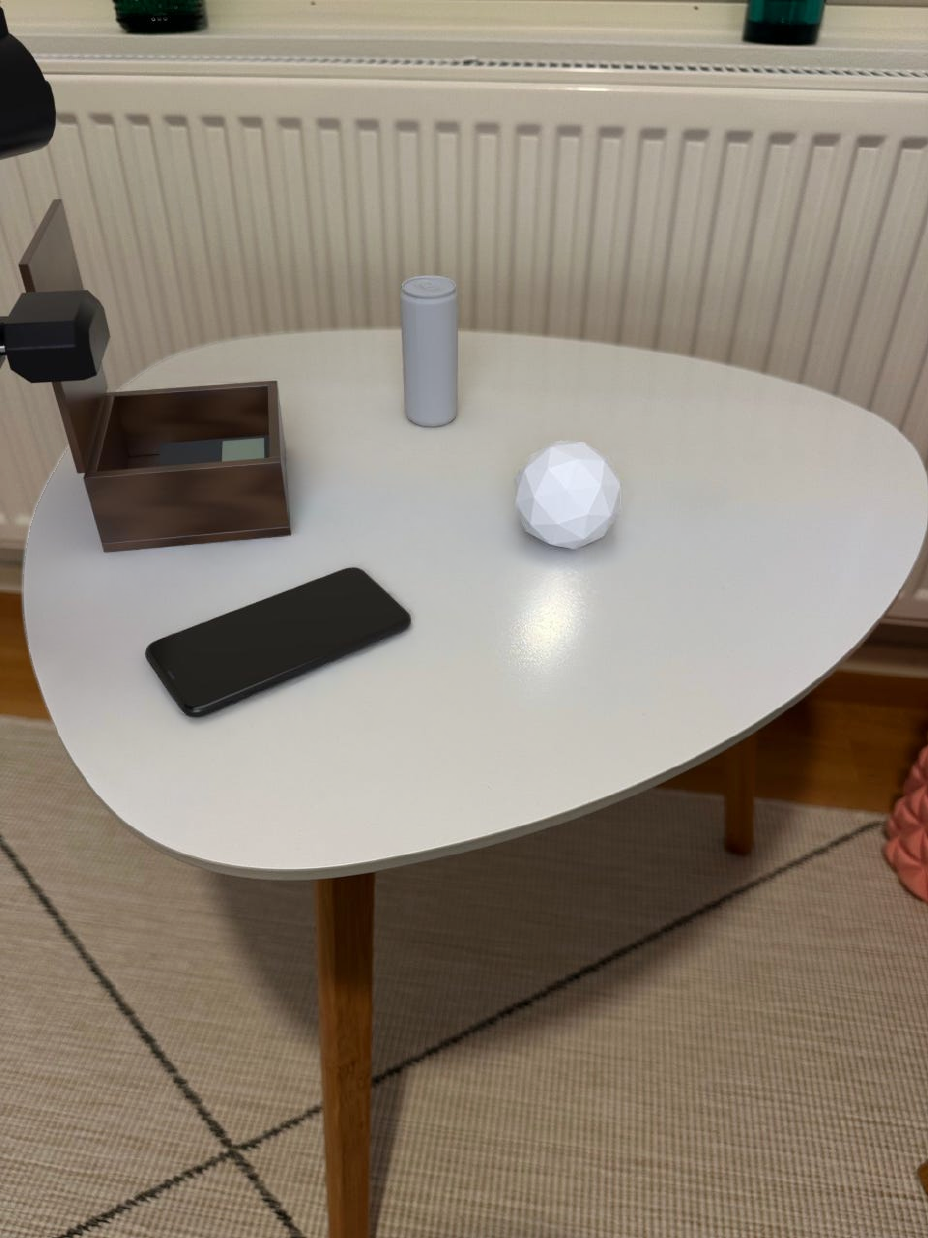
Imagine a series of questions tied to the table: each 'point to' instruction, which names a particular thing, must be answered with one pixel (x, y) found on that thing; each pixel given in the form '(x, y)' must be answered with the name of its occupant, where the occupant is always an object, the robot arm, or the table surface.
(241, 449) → the black lcd device
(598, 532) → the geometric ball
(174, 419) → the case
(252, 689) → the smartphone
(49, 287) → the case lid
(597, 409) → the table surface
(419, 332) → the beverage can
